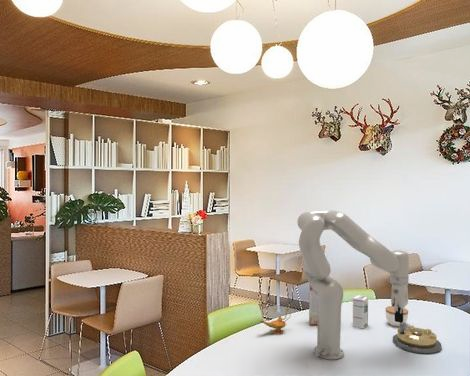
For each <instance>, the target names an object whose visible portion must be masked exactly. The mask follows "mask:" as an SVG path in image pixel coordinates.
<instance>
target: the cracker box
mask: <svg viewBox="0 0 470 376" xmlns="http://www.w3.org/2000/svg"><path fill="white" fill-rule="evenodd" d="M308 285H309V290H308V291H309V294H308V295H309V298H308V299H309V301H308V304H309V305H308V306H309V307H308V309H309V310H308V311H309V312H308V322H309V326H318V306H319V302H320V297H319V296H318V295H317V294H316V293H315V292H314V291H313V290H312V288H311V286H310V284H309V283H308Z"/></svg>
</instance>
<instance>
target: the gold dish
mask: <svg viewBox="0 0 470 376" xmlns="http://www.w3.org/2000/svg"><path fill="white" fill-rule="evenodd" d="M397 334H398V335H397V338H398V340H399V341H400V342H401V343H403V344H406V345H408V346H412V347H417V348H431V347H434V346H436V340H438V339H437V338H438V337H437V335H436V334H435V333H434V332H433V331H432V329H431V328H430V329H429V328H425V329H424V328H421V327H415V326H414V325H409V326H407V327H406V323H405V322H402V323H401V322H400V327H397Z"/></svg>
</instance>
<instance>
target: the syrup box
mask: <svg viewBox="0 0 470 376" xmlns="http://www.w3.org/2000/svg"><path fill="white" fill-rule="evenodd" d="M368 322H369V297H368V296H364V295H356V296H355V297H353V298H352V327H354V328H356V329H357V328H359V329H362V330H364V329H365V328H367V327H368V326H369V323H368Z"/></svg>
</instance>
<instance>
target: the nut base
mask: <svg viewBox="0 0 470 376" xmlns="http://www.w3.org/2000/svg"><path fill="white" fill-rule="evenodd" d="M397 335H398V333H396V334H393V336H392V343H394V344H395V345H396V346H395V345H394V344H393V345H394V346H395V347H396V348H398V347H399V348H398V349H400V348H401V349H400V350H403V351H405V352H408V353H413V354H419V355H433V354H438V353H440V351H442V343H441V342H440V341H439V340H438V339H436V346H434V347H431V348H417V347H412V346H408V345H406V344H403V343H401V342H400V341H399V340H398V338H397Z"/></svg>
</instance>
